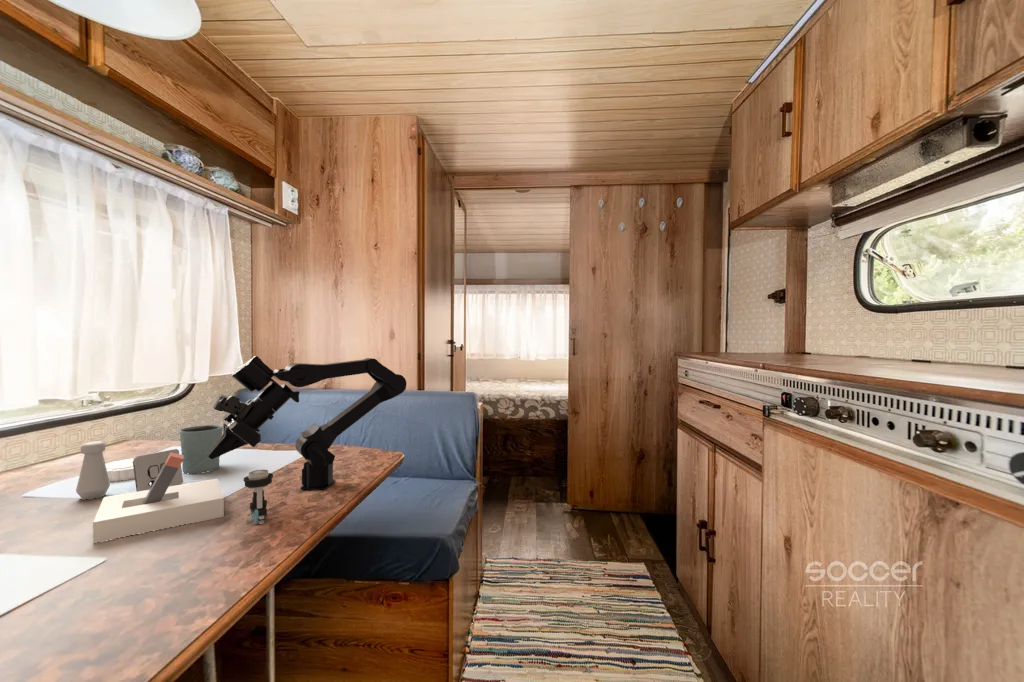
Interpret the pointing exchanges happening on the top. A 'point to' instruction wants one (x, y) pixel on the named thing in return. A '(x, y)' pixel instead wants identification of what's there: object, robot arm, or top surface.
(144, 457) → the electrical switch
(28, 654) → the top surface
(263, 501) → the push button
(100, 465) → the salt shaker
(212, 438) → the green cup
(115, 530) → the box
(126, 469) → the mooncake
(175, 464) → the lever
